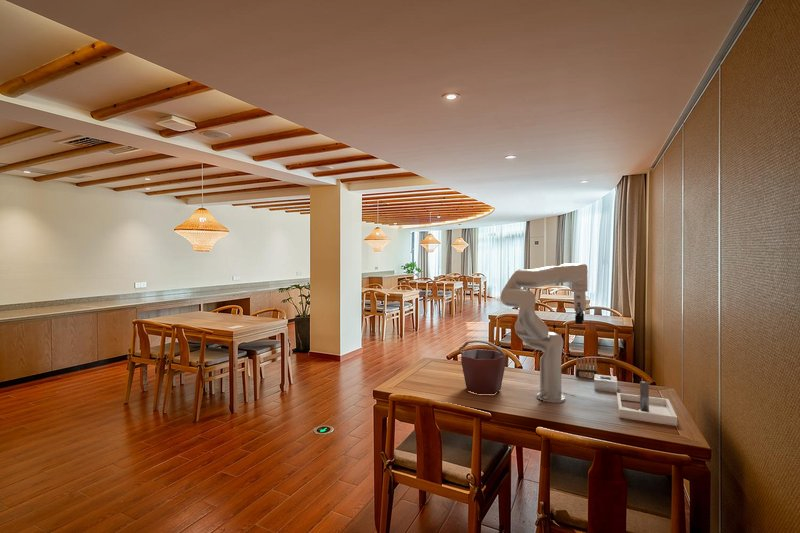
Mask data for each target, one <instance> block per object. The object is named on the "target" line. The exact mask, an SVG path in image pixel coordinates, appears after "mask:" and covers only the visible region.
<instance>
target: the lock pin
mask: <svg viewBox="0 0 800 533" xmlns="http://www.w3.org/2000/svg"><path fill="white" fill-rule="evenodd" d="M639 395H640V402H639V408H640V410H641V411H645V412H648V411H649V397H650V383H649V382H648V381H644V380H643V381H642V380H641V381H639Z"/></svg>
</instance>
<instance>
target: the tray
mask: <svg viewBox="0 0 800 533" xmlns="http://www.w3.org/2000/svg"><path fill="white" fill-rule="evenodd" d="M622 400H623V401H629V402H630V401H631V402H637V403H640V394H638V395H637V394H632V393H621V392H617V393H616V401H617V412H618V418H620V419H625V420H632V421H633V420H634V421H640V422H646V423H647V422H648V423H655V424H658V425H659V424H660V425H665V426H666V425H667V426H668V425H669V426H675V427H678V416H677V414H676V412H675V410H674V407H673V405H672V403H671V401H670V400H669V398H663V397H654V396H649V411H648V412H645V411H641V410H640V407H639V408H638V409H635V408H632V407H628V406H627V407H626V406H623V405H622Z"/></svg>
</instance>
